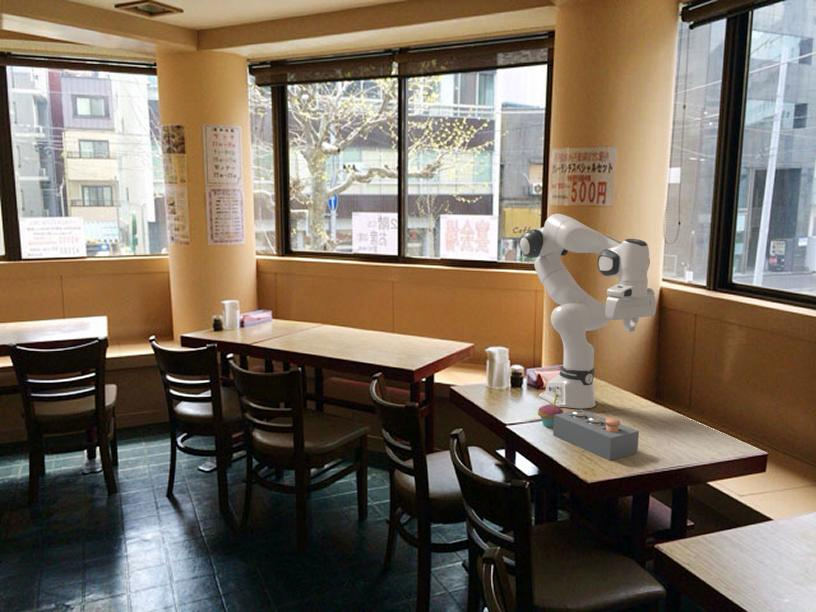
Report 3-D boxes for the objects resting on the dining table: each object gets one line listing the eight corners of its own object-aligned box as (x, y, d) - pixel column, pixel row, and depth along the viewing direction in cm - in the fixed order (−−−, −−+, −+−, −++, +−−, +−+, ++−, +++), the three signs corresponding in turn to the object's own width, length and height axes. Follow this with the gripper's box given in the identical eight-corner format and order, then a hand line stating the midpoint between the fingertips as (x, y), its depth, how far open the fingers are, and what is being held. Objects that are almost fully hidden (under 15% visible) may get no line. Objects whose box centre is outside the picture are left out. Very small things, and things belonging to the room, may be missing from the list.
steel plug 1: (568, 434, 210) (569, 411, 208) (577, 432, 212) (579, 409, 210) (577, 438, 206) (579, 415, 205) (587, 436, 208) (588, 413, 207)
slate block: (553, 435, 210) (554, 414, 209) (579, 429, 216) (581, 409, 215) (609, 460, 190) (610, 437, 189) (637, 453, 196) (638, 431, 195)
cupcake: (555, 420, 225) (557, 387, 223) (567, 428, 217) (569, 394, 215) (533, 422, 223) (534, 388, 221) (544, 430, 215) (545, 395, 213)
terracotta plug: (601, 444, 197) (602, 419, 196) (610, 441, 199) (612, 417, 198) (611, 448, 194) (613, 423, 193) (621, 446, 196) (622, 421, 195)
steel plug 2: (584, 441, 204) (585, 417, 202) (593, 439, 206) (595, 415, 204) (594, 445, 200) (595, 421, 199) (603, 443, 202) (605, 419, 201)
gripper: (646, 286, 216) (643, 327, 218) (603, 290, 205) (600, 332, 208) (662, 288, 210) (659, 330, 212) (618, 292, 200) (615, 335, 202)
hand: (629, 331), depth 210 cm, fingers closed
